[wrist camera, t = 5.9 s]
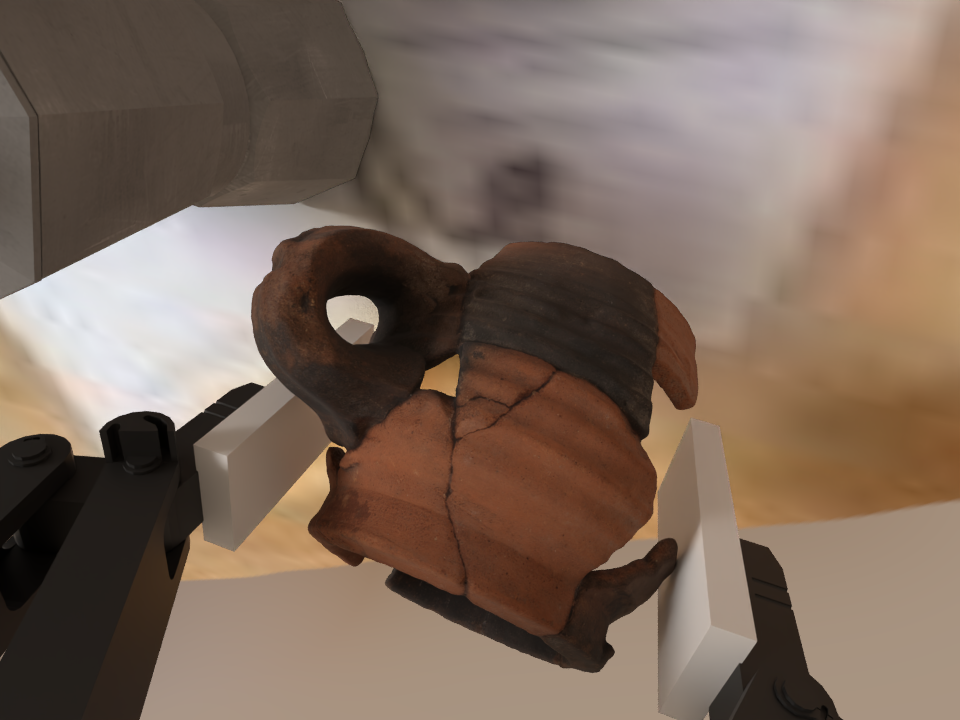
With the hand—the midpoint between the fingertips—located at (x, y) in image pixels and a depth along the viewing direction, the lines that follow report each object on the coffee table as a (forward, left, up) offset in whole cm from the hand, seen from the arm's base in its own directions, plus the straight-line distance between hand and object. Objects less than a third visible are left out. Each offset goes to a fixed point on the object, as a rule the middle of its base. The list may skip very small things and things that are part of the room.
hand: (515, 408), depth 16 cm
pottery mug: (-1, +1, -1) cm, 1 cm away
